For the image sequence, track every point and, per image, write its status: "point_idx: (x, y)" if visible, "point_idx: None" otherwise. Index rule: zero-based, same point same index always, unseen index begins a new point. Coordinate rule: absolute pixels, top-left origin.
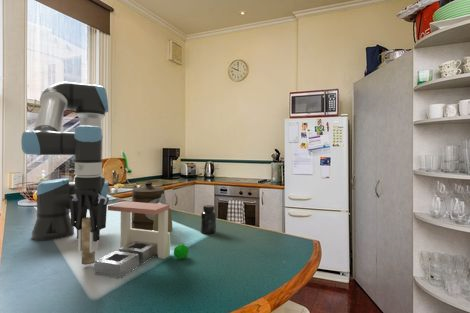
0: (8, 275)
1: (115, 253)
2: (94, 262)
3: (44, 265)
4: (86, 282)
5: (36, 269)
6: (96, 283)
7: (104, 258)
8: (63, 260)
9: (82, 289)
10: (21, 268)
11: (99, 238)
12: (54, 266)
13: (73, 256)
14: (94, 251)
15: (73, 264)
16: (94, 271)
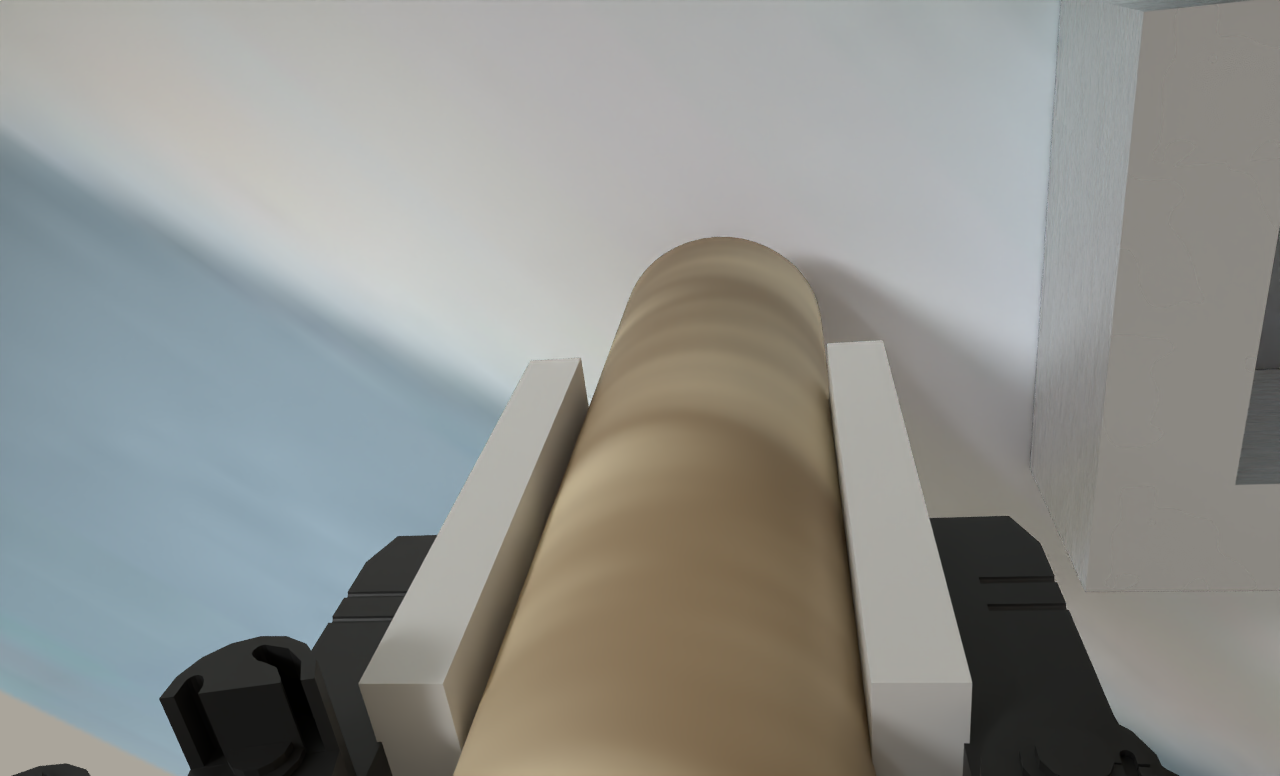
0: (158, 744)
1: (1268, 151)
2: (1081, 578)
3: (166, 476)
4: (1092, 651)
5: (219, 580)
6: (1244, 638)
7: (1196, 455)
8: (183, 267)
9: (1170, 770)
10: (60, 609)
11: (1045, 559)
12: (300, 457)
13: (133, 79)
14: (812, 356)
15: (451, 321)
16: (1042, 493)
